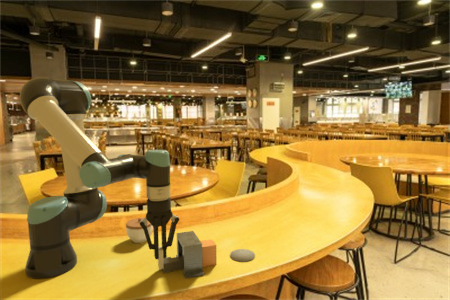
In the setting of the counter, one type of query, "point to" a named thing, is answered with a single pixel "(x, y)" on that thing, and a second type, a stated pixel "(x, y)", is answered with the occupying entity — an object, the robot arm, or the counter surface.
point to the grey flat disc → (242, 255)
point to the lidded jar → (137, 230)
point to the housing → (190, 254)
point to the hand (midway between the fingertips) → (160, 267)
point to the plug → (207, 257)
